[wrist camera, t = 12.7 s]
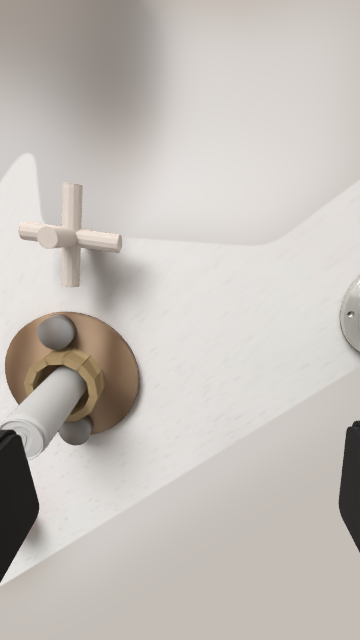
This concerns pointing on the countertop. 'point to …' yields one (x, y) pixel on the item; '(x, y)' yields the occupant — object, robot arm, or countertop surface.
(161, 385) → the countertop surface
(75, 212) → the pipe connector
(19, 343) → the carrier
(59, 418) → the beverage can
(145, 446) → the countertop surface
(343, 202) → the countertop surface
